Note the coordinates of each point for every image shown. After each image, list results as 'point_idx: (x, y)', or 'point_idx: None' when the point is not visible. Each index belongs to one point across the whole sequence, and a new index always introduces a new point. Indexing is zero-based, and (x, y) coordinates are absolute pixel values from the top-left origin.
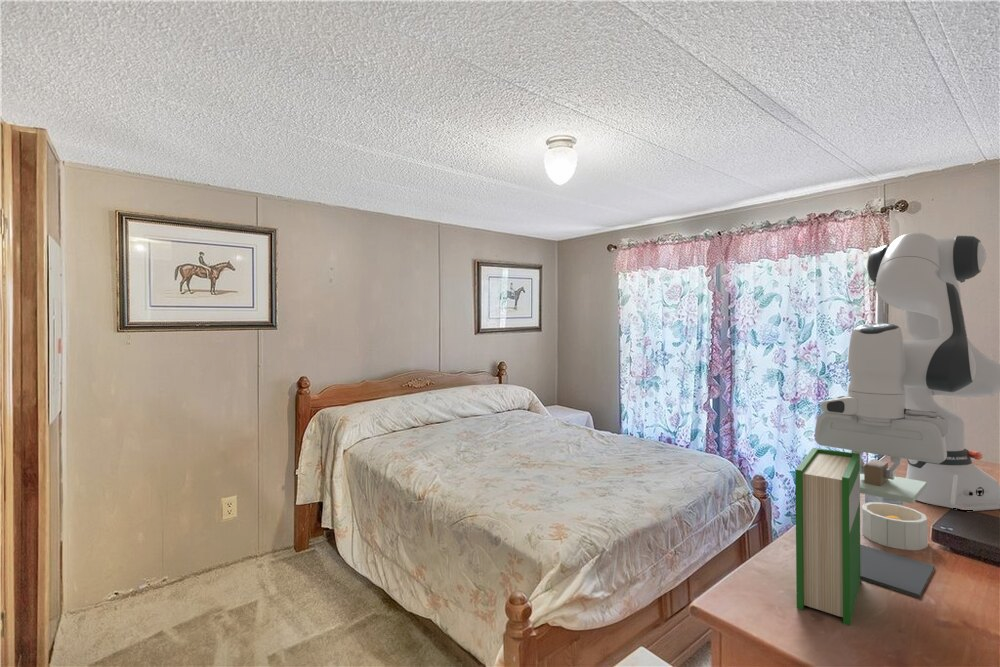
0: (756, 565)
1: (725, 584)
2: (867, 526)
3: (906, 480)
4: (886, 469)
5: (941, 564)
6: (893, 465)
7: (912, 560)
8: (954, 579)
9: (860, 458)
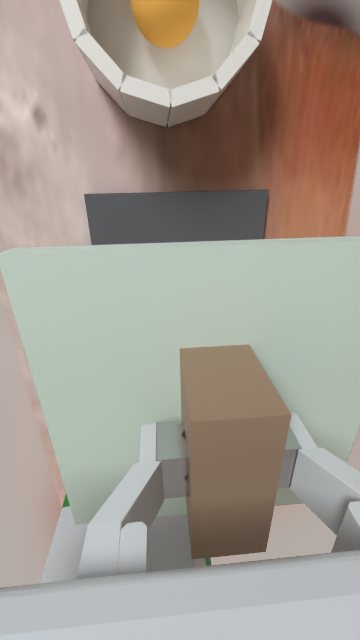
0: (44, 421)
1: (56, 486)
2: (108, 88)
3: (326, 289)
4: (279, 480)
5: (276, 148)
6: (330, 523)
7: (229, 199)
8: (296, 219)
9: (140, 513)
